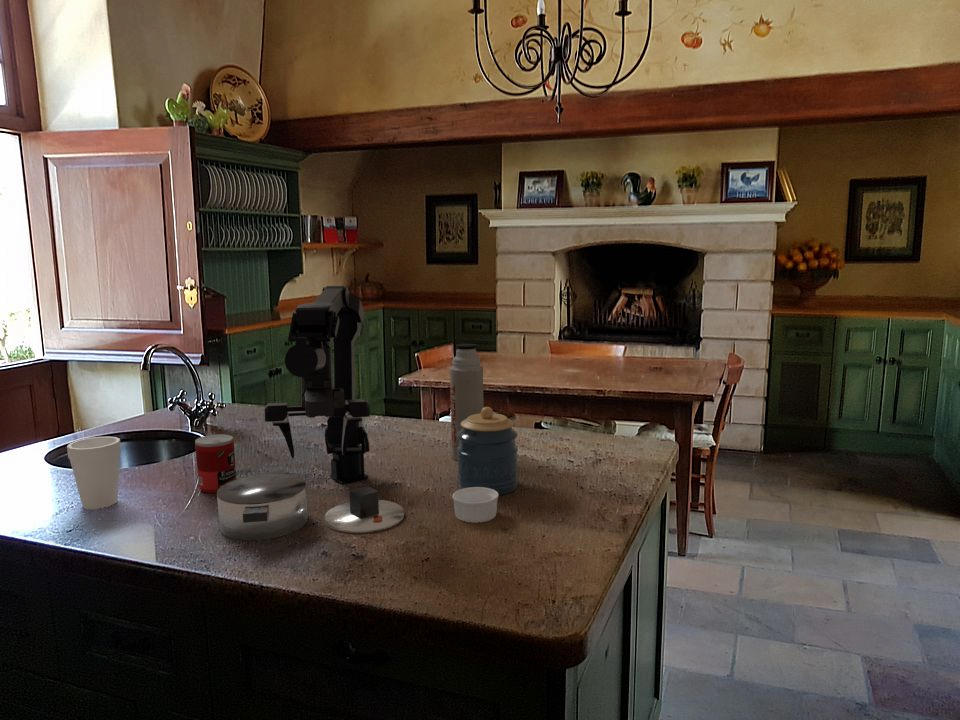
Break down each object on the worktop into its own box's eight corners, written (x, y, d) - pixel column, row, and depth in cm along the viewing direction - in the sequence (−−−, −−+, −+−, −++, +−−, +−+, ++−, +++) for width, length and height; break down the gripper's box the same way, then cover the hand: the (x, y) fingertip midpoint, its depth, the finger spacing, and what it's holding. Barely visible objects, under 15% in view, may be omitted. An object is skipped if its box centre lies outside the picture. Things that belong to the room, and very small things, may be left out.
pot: (229, 505, 144) (227, 471, 143) (310, 498, 147) (308, 466, 146) (208, 551, 122) (205, 513, 121) (304, 543, 125) (302, 505, 124)
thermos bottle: (452, 462, 170) (450, 347, 166) (451, 452, 178) (448, 342, 173) (485, 461, 171) (484, 346, 166) (482, 451, 179) (481, 341, 174)
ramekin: (465, 528, 131) (465, 505, 130) (445, 512, 139) (444, 491, 138) (507, 519, 135) (506, 497, 134) (485, 504, 143) (485, 483, 142)
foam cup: (136, 498, 148) (130, 438, 146) (99, 514, 140) (92, 450, 138) (101, 493, 152) (94, 435, 149) (63, 509, 143) (56, 447, 141)
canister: (526, 481, 156) (526, 403, 153) (503, 501, 144) (503, 416, 141) (473, 474, 161) (472, 398, 158) (447, 492, 150) (445, 411, 147)
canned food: (225, 494, 150) (221, 444, 148) (191, 492, 152) (187, 442, 150) (243, 482, 157) (240, 434, 156) (211, 481, 159) (207, 433, 157)
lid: (378, 499, 147) (377, 473, 146) (418, 521, 135) (418, 492, 134) (311, 517, 138) (310, 489, 137) (348, 542, 126) (347, 511, 125)
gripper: (263, 377, 121) (266, 468, 122) (373, 374, 126) (374, 460, 127) (263, 373, 131) (266, 456, 132) (364, 370, 137) (366, 450, 138)
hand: (318, 456), depth 132 cm, fingers open, 9 cm apart
